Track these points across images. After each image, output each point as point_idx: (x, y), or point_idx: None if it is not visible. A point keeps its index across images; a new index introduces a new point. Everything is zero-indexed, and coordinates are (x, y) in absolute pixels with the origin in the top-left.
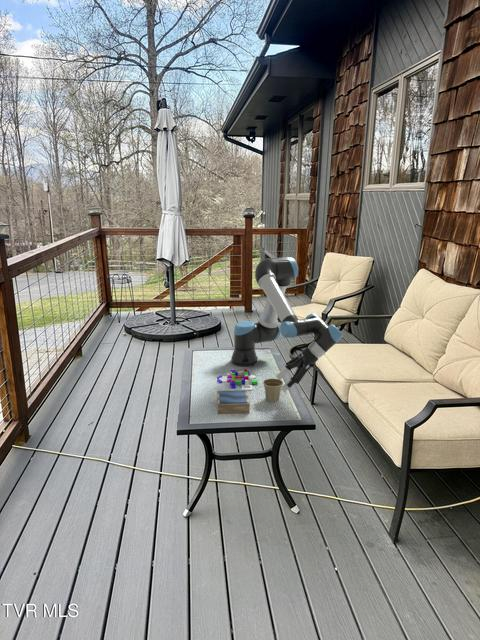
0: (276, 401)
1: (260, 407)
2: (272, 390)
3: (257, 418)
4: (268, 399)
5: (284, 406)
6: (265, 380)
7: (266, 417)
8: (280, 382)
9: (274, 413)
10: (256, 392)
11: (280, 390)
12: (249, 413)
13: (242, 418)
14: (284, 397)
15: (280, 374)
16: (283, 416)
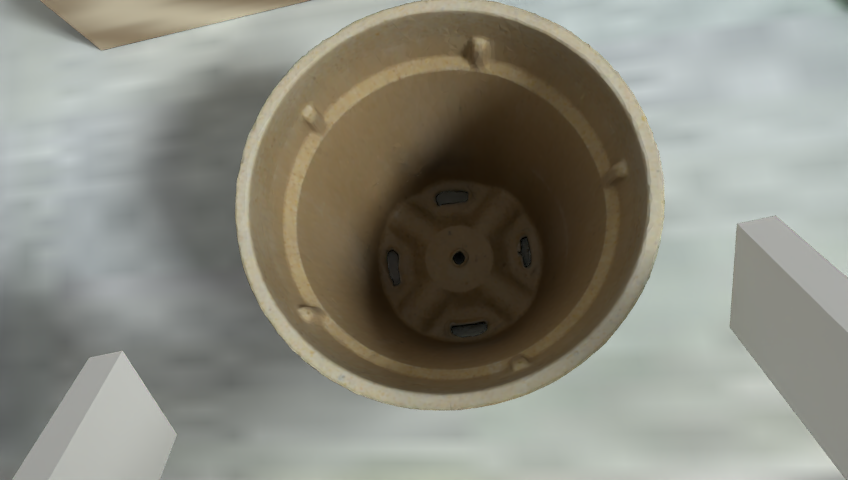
0: (392, 313)
1: (239, 139)
2: (300, 218)
3: (7, 138)
4: (383, 206)
5: (281, 423)
6: (544, 38)
7: (23, 225)
8: (557, 348)
9: (107, 305)
10: (630, 45)
11: (408, 358)
12: (99, 48)
13: (12, 4)
14: (546, 420)
15: (805, 331)
16: (39, 413)
